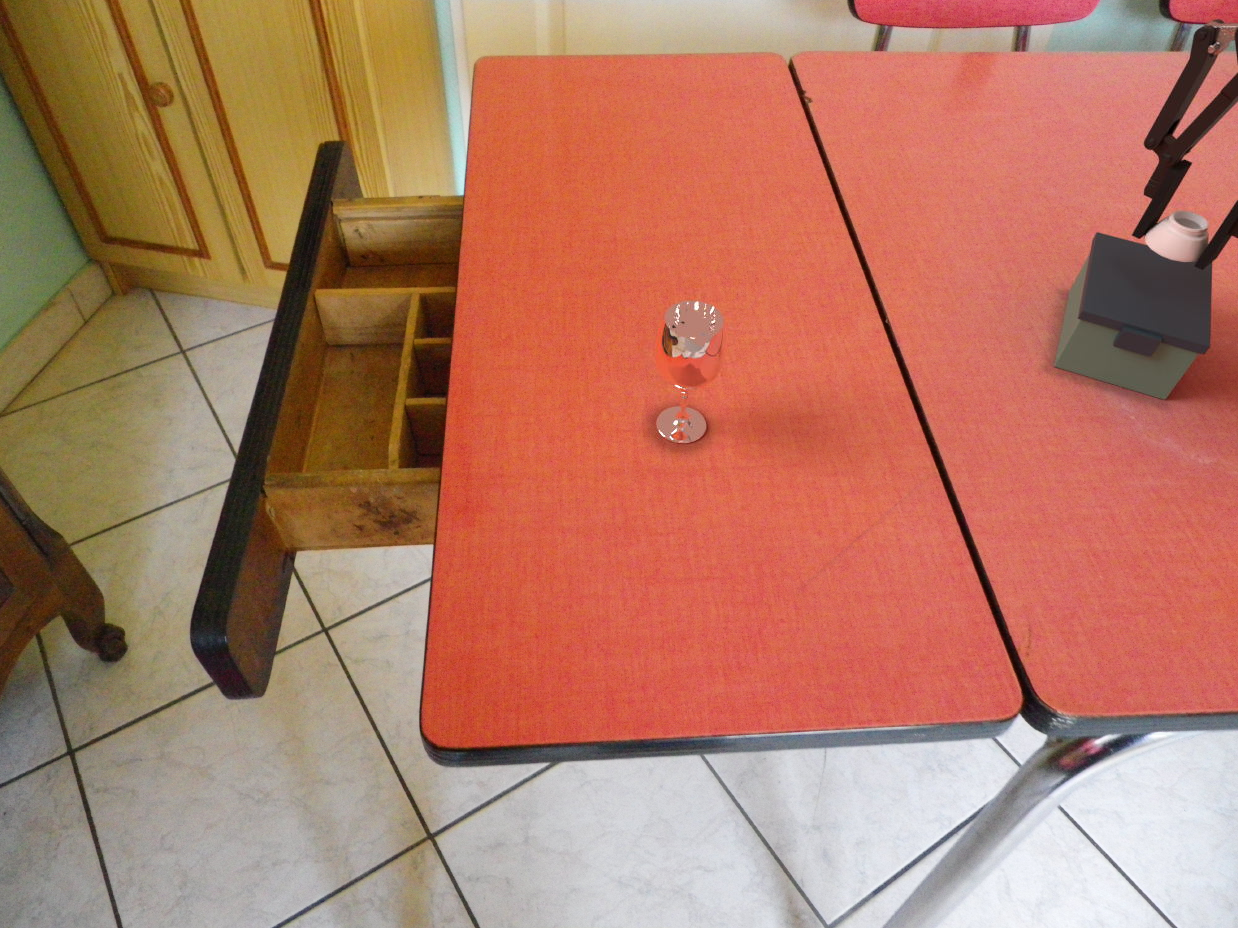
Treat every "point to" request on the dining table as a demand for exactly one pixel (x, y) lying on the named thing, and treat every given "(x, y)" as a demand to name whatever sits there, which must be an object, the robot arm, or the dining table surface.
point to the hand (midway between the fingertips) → (1173, 246)
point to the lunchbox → (1135, 317)
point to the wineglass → (688, 363)
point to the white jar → (1179, 236)
